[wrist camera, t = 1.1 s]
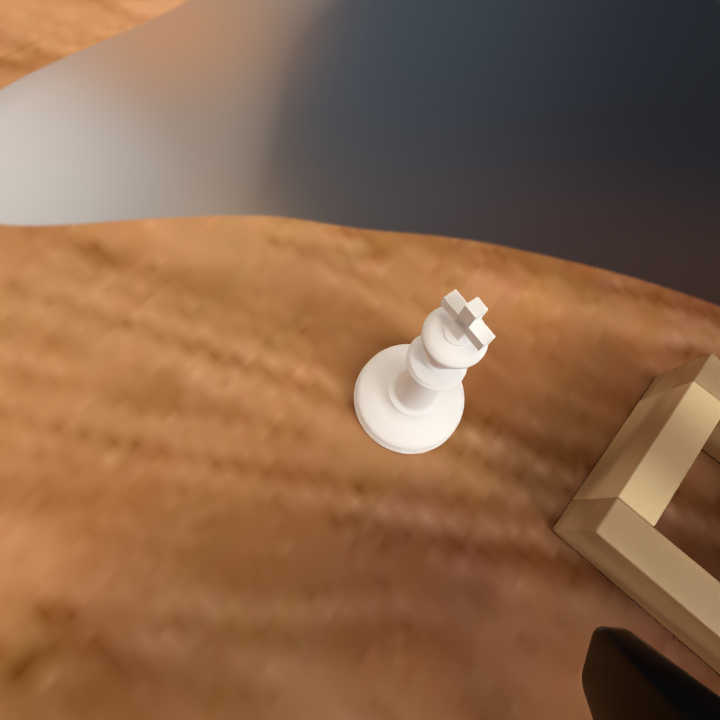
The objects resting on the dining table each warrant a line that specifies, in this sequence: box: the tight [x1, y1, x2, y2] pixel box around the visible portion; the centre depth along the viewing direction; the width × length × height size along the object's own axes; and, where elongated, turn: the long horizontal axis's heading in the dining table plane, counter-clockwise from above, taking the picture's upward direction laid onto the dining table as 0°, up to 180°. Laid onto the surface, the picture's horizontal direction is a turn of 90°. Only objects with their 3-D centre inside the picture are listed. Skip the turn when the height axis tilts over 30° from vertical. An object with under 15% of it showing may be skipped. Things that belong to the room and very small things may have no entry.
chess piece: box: [354, 289, 496, 454], centre depth 17 cm, size 5×5×10 cm
